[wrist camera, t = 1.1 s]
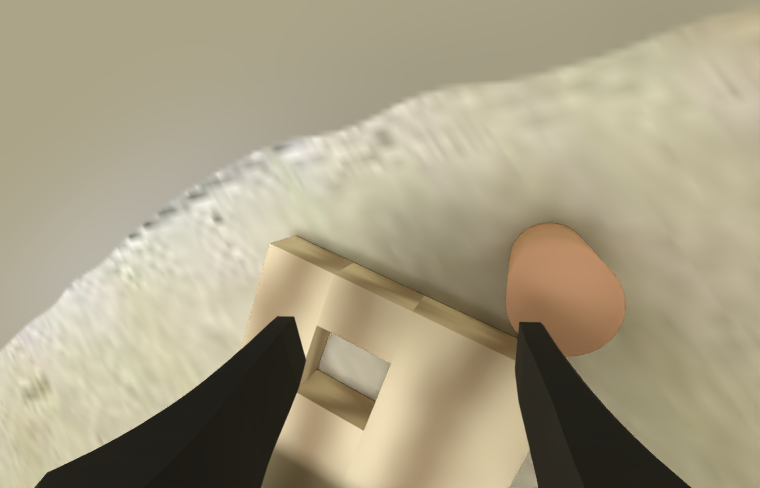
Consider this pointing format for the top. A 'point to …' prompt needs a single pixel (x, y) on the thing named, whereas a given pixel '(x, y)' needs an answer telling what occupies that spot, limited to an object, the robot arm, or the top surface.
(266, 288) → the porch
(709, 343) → the top surface
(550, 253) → the peg
